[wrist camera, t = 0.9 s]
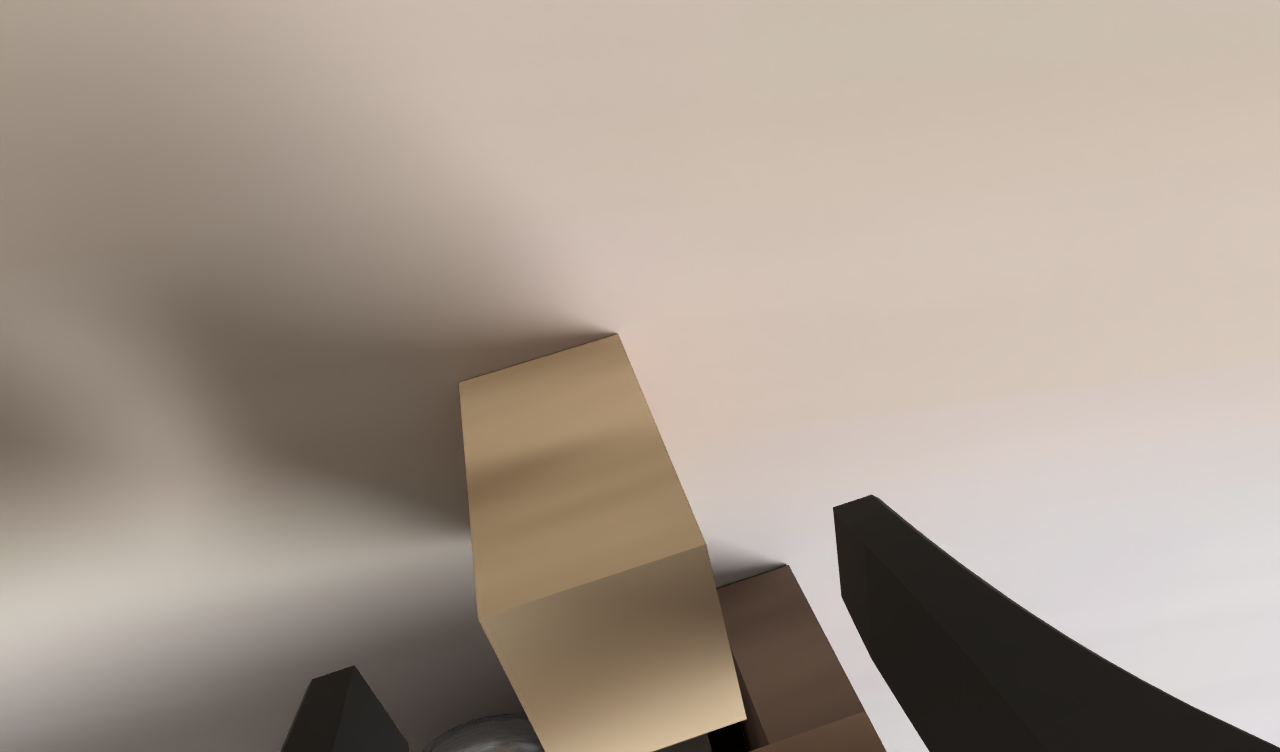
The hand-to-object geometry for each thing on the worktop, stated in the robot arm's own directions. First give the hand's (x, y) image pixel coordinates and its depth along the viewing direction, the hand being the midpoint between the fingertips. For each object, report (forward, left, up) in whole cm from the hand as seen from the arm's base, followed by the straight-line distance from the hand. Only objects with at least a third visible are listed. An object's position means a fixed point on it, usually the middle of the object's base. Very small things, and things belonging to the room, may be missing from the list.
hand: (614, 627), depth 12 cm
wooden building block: (-6, 0, -5) cm, 7 cm away
